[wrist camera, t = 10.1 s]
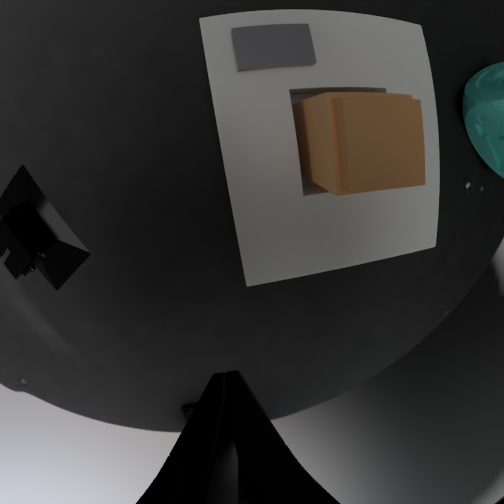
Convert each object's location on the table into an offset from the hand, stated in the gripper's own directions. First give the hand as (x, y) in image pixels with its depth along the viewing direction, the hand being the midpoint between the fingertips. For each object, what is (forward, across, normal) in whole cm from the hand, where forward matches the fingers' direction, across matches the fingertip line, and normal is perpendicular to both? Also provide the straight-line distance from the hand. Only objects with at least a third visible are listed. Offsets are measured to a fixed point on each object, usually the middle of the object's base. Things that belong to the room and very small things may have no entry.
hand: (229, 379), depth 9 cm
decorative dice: (+12, -25, -8) cm, 29 cm away
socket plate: (+12, -8, -6) cm, 16 cm away
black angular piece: (+13, +14, -4) cm, 20 cm away
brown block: (+12, -8, -6) cm, 15 cm away
